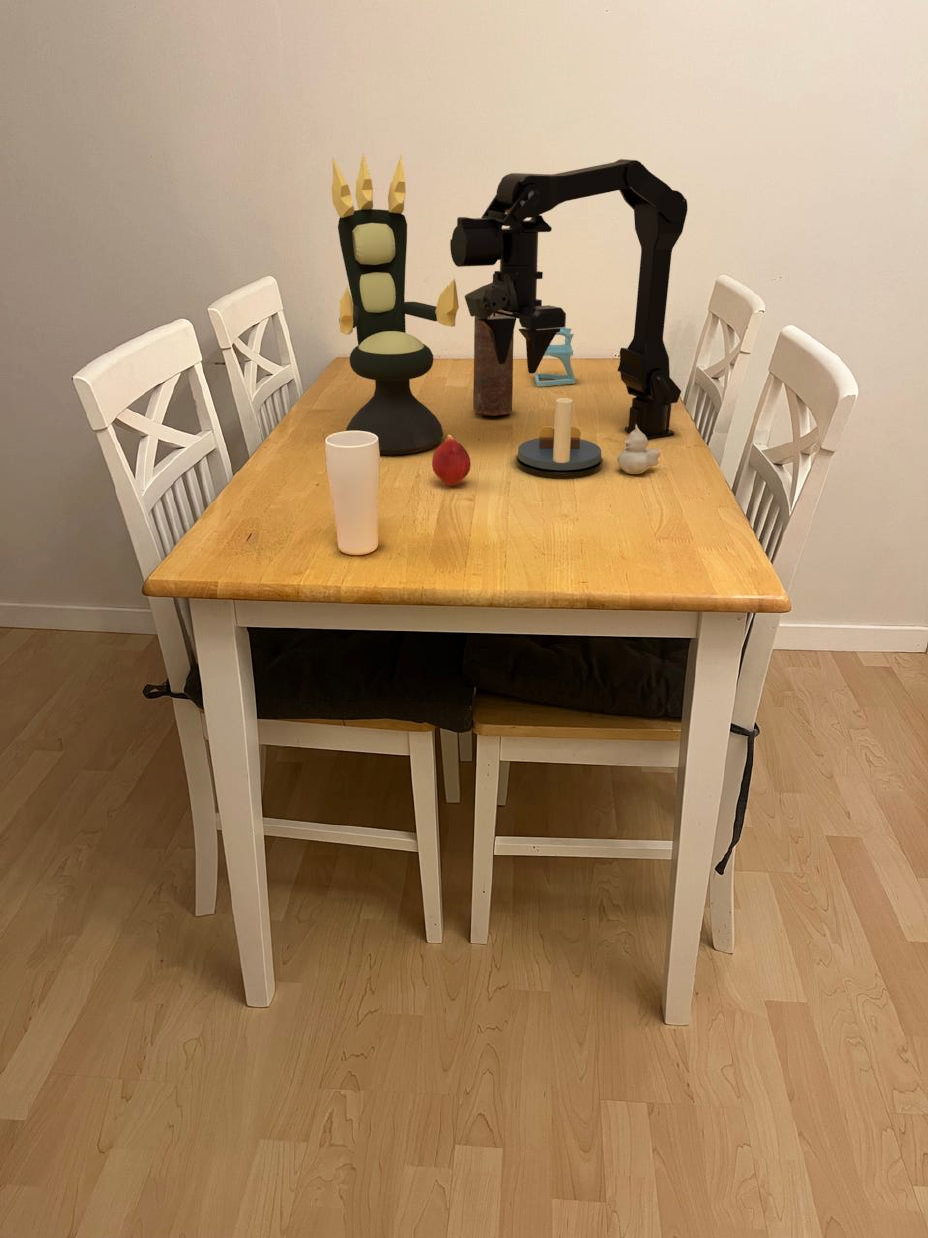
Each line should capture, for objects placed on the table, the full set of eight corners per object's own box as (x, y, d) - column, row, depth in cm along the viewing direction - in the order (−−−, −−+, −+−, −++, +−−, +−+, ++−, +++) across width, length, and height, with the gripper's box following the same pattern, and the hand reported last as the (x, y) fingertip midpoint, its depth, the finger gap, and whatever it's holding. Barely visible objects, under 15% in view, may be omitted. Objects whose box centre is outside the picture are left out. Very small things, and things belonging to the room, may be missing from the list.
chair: (576, 386, 199) (579, 327, 193) (536, 386, 199) (538, 327, 193) (573, 377, 206) (576, 319, 200) (534, 377, 206) (536, 319, 200)
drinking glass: (333, 539, 129) (325, 430, 122) (383, 537, 130) (378, 429, 123) (331, 560, 123) (323, 447, 116) (384, 558, 124) (379, 445, 117)
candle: (508, 422, 177) (510, 309, 167) (469, 420, 178) (469, 308, 169) (515, 410, 183) (517, 302, 174) (477, 408, 185) (477, 300, 175)
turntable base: (573, 446, 164) (573, 440, 164) (619, 470, 153) (619, 464, 153) (500, 457, 159) (500, 451, 159) (542, 484, 148) (543, 478, 148)
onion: (475, 481, 149) (475, 431, 145) (463, 494, 144) (463, 442, 140) (440, 477, 151) (439, 428, 147) (426, 490, 146) (425, 438, 142)
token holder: (517, 443, 162) (519, 379, 157) (597, 443, 161) (601, 380, 156) (518, 469, 150) (520, 402, 145) (604, 470, 149) (609, 402, 144)
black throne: (353, 465, 156) (335, 158, 135) (320, 427, 174) (299, 151, 153) (462, 451, 162) (460, 155, 141) (418, 416, 180) (411, 149, 159)
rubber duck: (614, 467, 155) (617, 418, 151) (654, 466, 155) (659, 418, 151) (619, 478, 150) (623, 428, 146) (661, 478, 150) (666, 428, 146)
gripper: (443, 262, 151) (444, 363, 157) (504, 271, 136) (502, 383, 142) (504, 259, 155) (503, 357, 162) (570, 268, 141) (565, 376, 147)
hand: (516, 368), depth 153 cm, fingers open, 9 cm apart
